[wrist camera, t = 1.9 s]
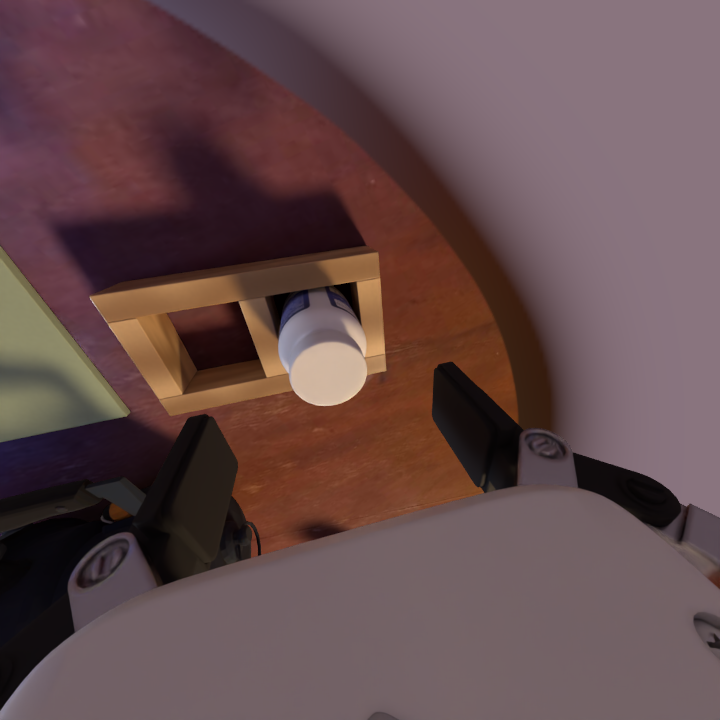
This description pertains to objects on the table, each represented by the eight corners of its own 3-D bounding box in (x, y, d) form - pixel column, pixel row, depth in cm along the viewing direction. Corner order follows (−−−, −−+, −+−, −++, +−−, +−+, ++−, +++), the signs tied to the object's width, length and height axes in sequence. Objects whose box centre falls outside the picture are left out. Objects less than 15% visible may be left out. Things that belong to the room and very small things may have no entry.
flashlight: (106, 566, 30) (-95, 470, 20) (277, 496, 33) (184, 375, 22) (-6, 802, 18) (-700, 897, 7) (279, 664, 21) (72, 581, 10)
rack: (121, 281, 17) (87, 296, 14) (367, 245, 19) (378, 251, 16) (186, 390, 21) (169, 416, 19) (376, 352, 23) (386, 370, 21)
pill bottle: (289, 347, 21) (284, 423, 14) (276, 284, 19) (261, 335, 11) (352, 339, 22) (379, 407, 15) (348, 277, 19) (379, 321, 12)
